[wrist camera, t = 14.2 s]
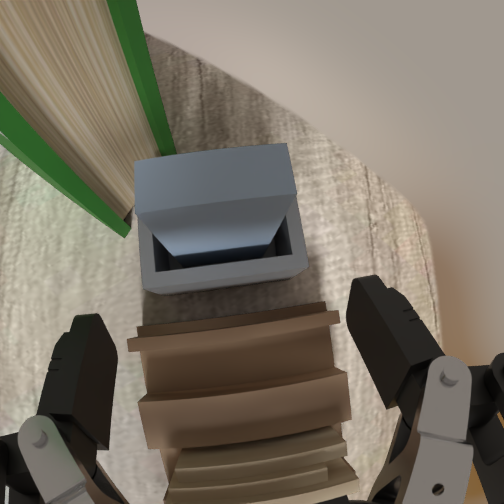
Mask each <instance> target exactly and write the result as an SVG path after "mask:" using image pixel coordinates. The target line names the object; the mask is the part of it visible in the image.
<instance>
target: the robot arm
mask: <svg viewBox="0 0 504 504" xmlns="http://www.w3.org/2000/svg"><path fill="white" fill-rule="evenodd" d="M346 322H347V326H348V329H349V332H350V334H351V336H352V338H353V340H354V342H355V344H356V346H357V348H358V350H359V352H360V354H361V356H362V358H363V360H364V362H365V365H366V367H367V369H368V371H369V373H370V375H371V377H372V379H373V381H374V384H375V386H376V388H377V390H378V392H379V394H380V396H381V399H382V401H383V403H384V405H385V407H386V410H387V409H390V408H393V407H396V406H399V409H400V411H401V413H400V415H399V418H398V422H397V425H396V429H395V432H394V436H393V439H392V442H391V446H390V449H389V452H388V455H387V458H386V461H385V464H384V466H383V468H382V470H381V472H380V474H379V475H378V477H377V479H376V481H375V483H374V485H373V487H372V490H371V492H370V495H369V497H368V500H367V501H364V500H348V497H347V495H344V496H341V497H337V498H334V499H330V500H326V501H323V502H319V503H315V504H463V502H464V499H465V494H466V490H467V485H468V481H469V476H470V471H471V465H472V461H473V464H474V466H475V469H476V471H477V474H478V476H479V479H480V482H481V484H482V487H483V490H484V493H485V495H486V498H487V501H488V504H504V428H503V426H502V424H501V422H500V420H499V418H498V416H497V414H498V413H499V412H500V413H501V415H502V417H503V419H504V353H500V354H498V355H497V356H496V357H495V358H494V360H493V361H492V363H491V364H490V365H483V366H467V365H466V364H465V363H464V362H463V361H461V360H460V359H458V358H455V357H452V356H446V355H445V354H444V353H443V351H442V350H441V348H440V347H439V345H438V344H437V342H436V341H435V339H434V338H433V336H432V335H431V333H430V332H429V330H428V329H427V327H426V326H425V324H424V323H423V321H422V320H420V317H419V316H418V314H417V313H416V311H415V310H413V307H412V306H411V304H410V303H409V301H408V300H407V299H406V297H405V296H404V295H402V294H401V293H400V292H398V291H397V290H395V289H394V288H393V287H391V288H387V287H386V286H385V285H384V283H383V282H382V280H381V279H380V278H379V276H377V275H370V276H365V277H359V278H355V279H353V281H352V284H351V290H350V295H349V301H348V306H347V311H346ZM51 359H52V361H50V364H49V367H48V372H47V375H46V378H45V382H44V386H43V390H42V394H41V398H40V402H39V406H38V410H37V414H36V416H33V417H30V418H29V419H27V420H26V421H25V422H24V423H23V424H22V426H21V428H20V430H19V432H17V433H13V434H9V435H5V436H1V437H0V504H5V486H8V487H9V504H129V503H128V501H127V500H126V499H125V498H124V496H123V495H122V494H121V492H120V491H119V490H118V488H117V487H116V486H115V484H114V483H113V482H112V480H111V479H110V478H109V476H108V475H107V473H106V472H105V471H104V469H103V468H102V466H101V465H100V463H99V462H98V461H97V460H96V455H97V450H109V441H110V427H111V416H112V406H113V396H114V387H115V379H116V372H117V364H118V356H117V350H116V346H115V344H114V342H113V340H112V338H111V336H110V334H109V332H108V330H107V328H106V326H105V324H104V322H103V320H102V318H101V316H100V315H99V314H97V313H95V314H85V315H76V316H75V317H74V319H73V322H72V325H71V329H70V332H64V334H63V335H62V336H61V338H60V339H59V340H58V342H57V343H56V344H55V347H54V350H53V354H52V357H51Z"/></svg>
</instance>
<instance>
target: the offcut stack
mask: <svg viewBox="0 0 504 504" xmlns="http://www.w3.org/2000/svg"><path fill="white" fill-rule="evenodd" d="M344 456H347V444H346V441H345V440H344V439H343V438H342V437H341V436H340V435H339V434H338V433H337V432H336V431H335V430H334V429H333V428H332V427H331V426H330V425H329V426H325V427H321V428H317V429H312V430H308V431H303V432H299V433H294V434H289V435H284V436H278V437H272V438H267V439H260V440H254V441H247V442H240V443H232V444H223V445H214V446H203V447H190V448H182V450H181V453H180V455H179V458H178V461H177V464H176V466H175V470H174V473H173V476H172V479H171V481H170V484H169V487H168V491H169V492H168V495H167V498H166V501H165V504H315V503H319V502H323V501H326V500H330V499H334V498H337V497H341V496H344V495H350V494H353V493H356V492H359V491H360V488H359V478H358V477H357V476H356V475H355V473H354V472H353V471H352V470H351V469H350V468H349V466H348V465H347V464H346V463H345V462H344V461H343V459H342V458H341V457H344Z"/></svg>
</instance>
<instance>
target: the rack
mask: <svg viewBox="0 0 504 504" xmlns="http://www.w3.org/2000/svg"><path fill="white" fill-rule="evenodd" d="M338 323H340V317H339V311H338V310H335V311H327V310H326V303H325V301H323V302H317V303H311V304H306V305H300V306H294V307H287V308H281V309H275V310H268V311H261V312H255V313H248V314H241V315H233V316H226V317H218V318H210V319H202V320H194V321H186V322H177V323H168V324H158V325H148V326H138V327H137V333H138V337H134V338H130V339H127V344H128V351H129V352H136V351H140V354H141V360H142V366H143V372H144V378H145V384H146V389H147V394H146V395H145V396H144V397H143V398H142V399H140V400H139V401H138V406H139V411H140V416H141V420H142V425H143V429H144V433H145V437H146V442H147V446H148V449H160V453H161V457H162V460H163V464H164V468H165V472H166V475H167V479H168V482H169V484H170V481H171V479H172V476H173V473H174V470H175V466H176V464H177V461H178V458H179V455H180V453H181V450H182V448H190V447H203V446H214V445H223V444H232V443H240V442H247V441H254V440H260V439H267V438H272V437H278V436H284V435H289V434H294V433H299V432H303V431H308V430H312V429H317V428H321V427H325V426H329V425H330V426H331V427H332V428H333V429H334V430H335V431H336V432H337V433H338V434H339V435H340V436H341V437H342V431H341V422H344V421H348V420H352V417H351V406H350V396H349V387H348V378H347V372H345V371H342V370H340V369H338V368H336V367H334V359H333V352H332V344H331V337H330V330H329V325H333V324H338ZM341 458H342V459H343V461H344V462H345V463H346V464H347V465H348V466H349V468H350V469H351V470H352V471H353V472H354V473H355V470H354V469H353V468H352V467H351V466H350V465H349V463H348V462H347V461H346V460H345V459H344V457H341ZM355 475H356V474H355ZM168 487H169V485H168ZM168 492H169V491H168V488H167V491H166V494H165V497H164V499H163V501H164V504H165V501H166V498H167V495H168Z"/></svg>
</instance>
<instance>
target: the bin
mask: <svg viewBox="0 0 504 504" xmlns="http://www.w3.org/2000/svg"><path fill="white" fill-rule="evenodd" d="M138 235H139V250H140V263H141V275H142V285H143V289H145V290H148V291H151V292H154V293H157V294H160V295H163V296H168V295H176V294H184V293H193V292H201V291H208V290H216V289H224V288H231V287H239V286H246V285H253V284H260V283H267V282H274V281H281V280H288V279H291V278H292V277H294V276H295V275H297V274H299V273H300V272H302V271H303V270H305V269H307V268H308V267H309V263H308V257H307V251H306V246H305V240H304V235H303V229H302V224H301V219H300V213H299V208H298V203H297V198H296V197H295V199H294V200H293V202H292V204H291V206H290V208H289V210H288V211H287V213H286V215H285V217H284V219H283V220H282V222H281V224H280V226H279V228H278V230H277V231H276V233H275V235H274V237H273V239H272V241H271V242H270V244H269V246H268V248H267V250H266V251H265V253H264V255H263V257H261V258H253V259H245V260H237V261H230V262H222V263H214V264H206V265H198V266H190V267H183V266H182V265H181V264H180V263H179V262H178V261H177V260H176V259H175V258H174V256H173V255H172V254H171V253H170V252H169V251H168V250H167V249H166V248H165V247H164V245H163V244H162V243H161V242H160V241H159V240H158V239H157V238H156V237H155V235H154V234H153V233H152V232H151V231H150V230H149V229H148V228H147V227H146V225H145V224H144V223H143V222H142V221H141V220H140V219H139V217H138Z"/></svg>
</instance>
